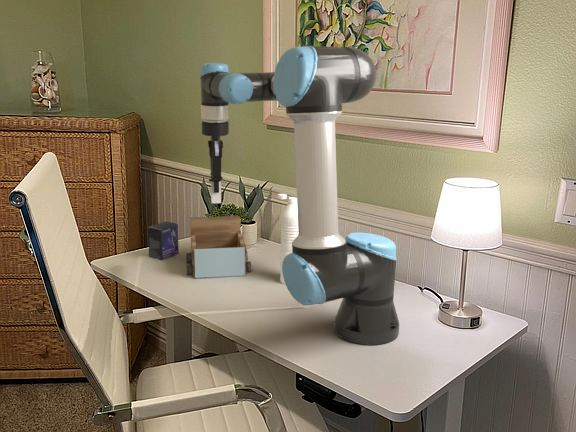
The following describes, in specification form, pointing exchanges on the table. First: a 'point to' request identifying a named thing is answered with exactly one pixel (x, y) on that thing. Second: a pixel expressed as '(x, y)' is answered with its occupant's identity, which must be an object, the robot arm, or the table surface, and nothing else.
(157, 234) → the box
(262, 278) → the table surface
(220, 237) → the box
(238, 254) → the panel
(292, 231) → the water bottle
